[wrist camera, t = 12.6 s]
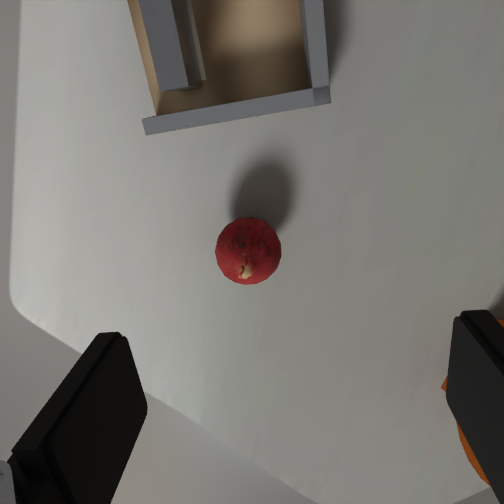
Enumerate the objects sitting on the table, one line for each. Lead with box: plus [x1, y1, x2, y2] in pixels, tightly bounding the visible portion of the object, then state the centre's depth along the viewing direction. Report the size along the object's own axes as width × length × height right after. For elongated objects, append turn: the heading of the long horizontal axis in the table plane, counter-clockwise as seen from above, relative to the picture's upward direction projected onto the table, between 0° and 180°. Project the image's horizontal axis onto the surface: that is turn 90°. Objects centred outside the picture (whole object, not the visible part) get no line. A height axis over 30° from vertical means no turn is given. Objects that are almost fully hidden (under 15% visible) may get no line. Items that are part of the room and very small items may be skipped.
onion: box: [215, 217, 281, 285], centre depth 33 cm, size 6×6×8 cm
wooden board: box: [127, 0, 307, 116], centre depth 29 cm, size 14×16×1 cm
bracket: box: [138, 0, 203, 91], centre depth 26 cm, size 10×8×6 cm
